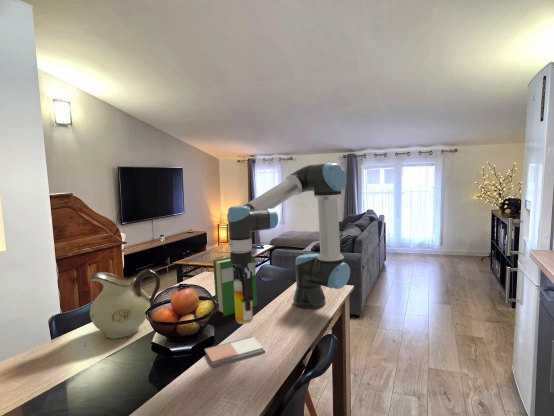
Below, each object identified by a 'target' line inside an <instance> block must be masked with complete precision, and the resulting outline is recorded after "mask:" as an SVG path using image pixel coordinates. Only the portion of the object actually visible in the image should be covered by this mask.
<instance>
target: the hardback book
mask: <svg viewBox="0 0 554 416" xmlns="http://www.w3.org/2000/svg"><path fill="white" fill-rule="evenodd" d="M255 257H256V256H255V255H253V254H252V261H251V262H250V263H248V268H249V272H252V286H253V301H252V308H255V307H257V306H258V295H257V294H258V293H257V277H256V276H257V275H256V258H255ZM212 264H213V279H214V280H213V281H214V293H215V297H214V298H215V303H216V302H217V303H218V304H219V308H218V311H217V312H216V313H219V312H221V313H222V316H223V317H227V316H229V315H232V314H235V299H234V280H233V267H232V266H233V265H235V264H233V263H231V261H230V256H228V257H224V258H218V259H213V260H212Z"/></svg>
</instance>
